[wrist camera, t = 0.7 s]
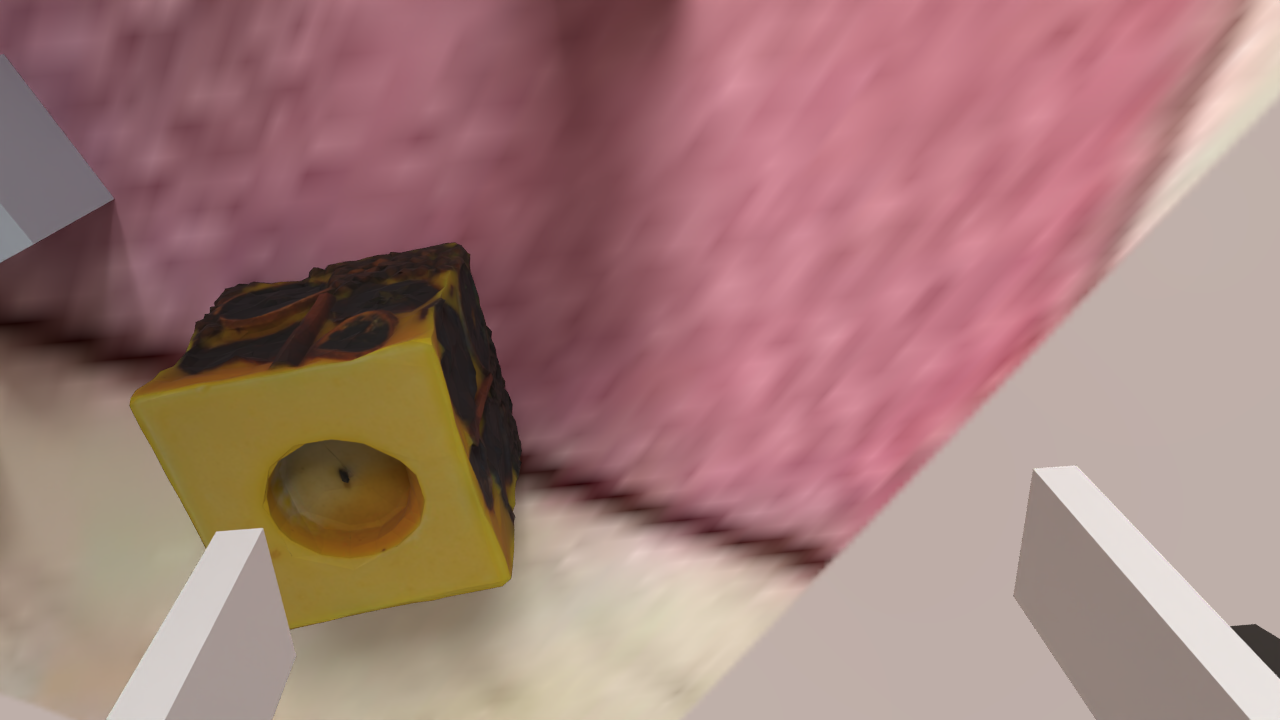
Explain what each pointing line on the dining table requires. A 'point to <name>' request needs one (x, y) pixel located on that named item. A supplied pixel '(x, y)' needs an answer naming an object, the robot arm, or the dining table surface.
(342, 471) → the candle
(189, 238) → the dining table surface
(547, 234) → the dining table surface
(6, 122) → the slate block
